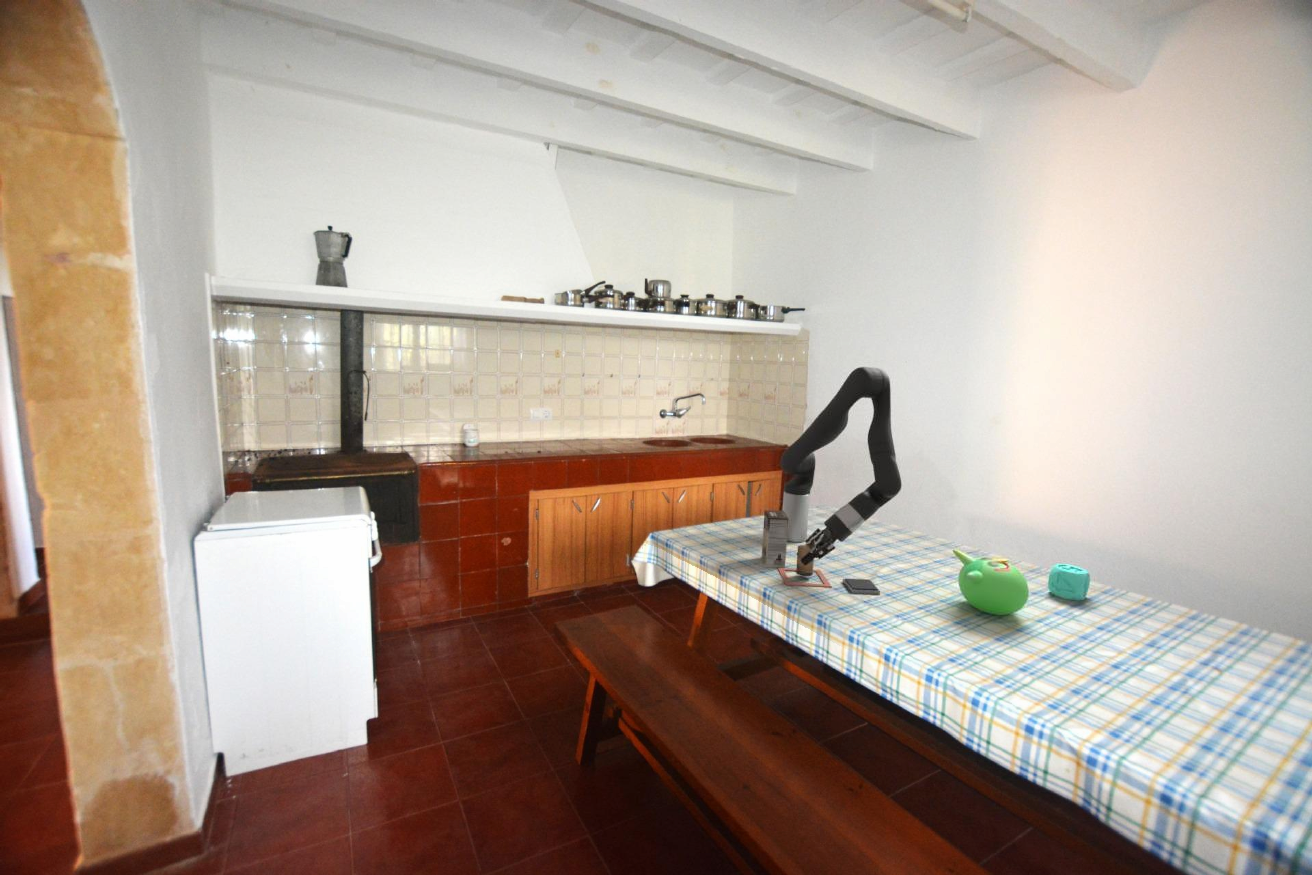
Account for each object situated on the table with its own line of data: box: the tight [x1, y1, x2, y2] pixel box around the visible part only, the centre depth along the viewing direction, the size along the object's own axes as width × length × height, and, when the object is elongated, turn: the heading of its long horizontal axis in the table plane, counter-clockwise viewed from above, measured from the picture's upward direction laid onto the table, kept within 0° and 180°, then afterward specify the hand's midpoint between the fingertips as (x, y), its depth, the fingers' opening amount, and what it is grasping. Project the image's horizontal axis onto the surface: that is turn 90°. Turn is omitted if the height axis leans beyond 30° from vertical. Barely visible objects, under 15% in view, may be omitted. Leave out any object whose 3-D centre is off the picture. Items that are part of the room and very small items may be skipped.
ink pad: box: [842, 578, 881, 595], centre depth 165 cm, size 8×8×1 cm
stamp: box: [795, 544, 815, 577], centre depth 170 cm, size 5×5×8 cm
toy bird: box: [952, 549, 1030, 616], centre depth 152 cm, size 18×17×15 cm
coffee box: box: [761, 509, 789, 568], centre depth 182 cm, size 9×6×16 cm
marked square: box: [777, 567, 832, 588], centre depth 171 cm, size 13×13×1 cm
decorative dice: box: [1047, 563, 1091, 602], centre depth 165 cm, size 8×8×8 cm
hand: (800, 559), depth 170 cm, fingers closed on stamp, 5 cm apart
